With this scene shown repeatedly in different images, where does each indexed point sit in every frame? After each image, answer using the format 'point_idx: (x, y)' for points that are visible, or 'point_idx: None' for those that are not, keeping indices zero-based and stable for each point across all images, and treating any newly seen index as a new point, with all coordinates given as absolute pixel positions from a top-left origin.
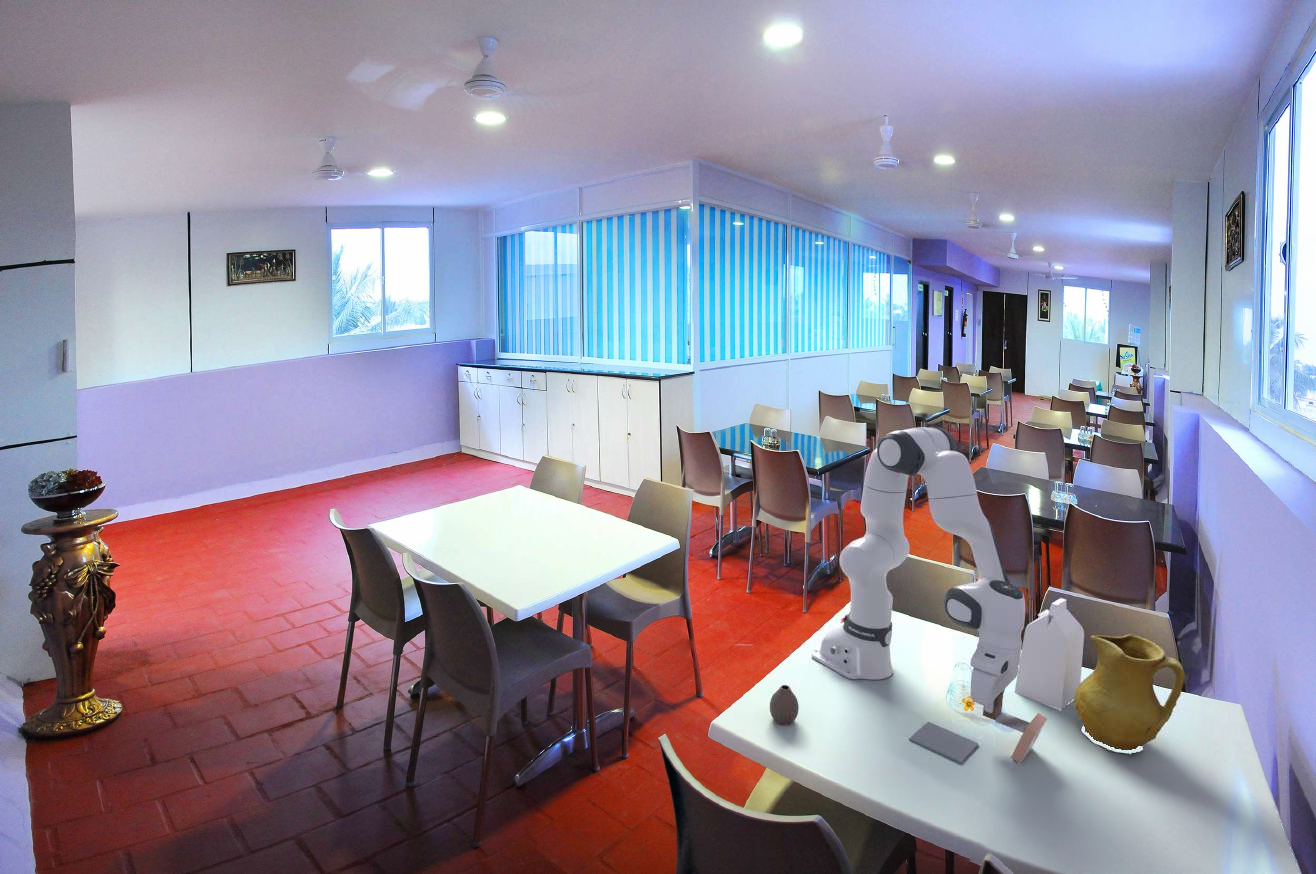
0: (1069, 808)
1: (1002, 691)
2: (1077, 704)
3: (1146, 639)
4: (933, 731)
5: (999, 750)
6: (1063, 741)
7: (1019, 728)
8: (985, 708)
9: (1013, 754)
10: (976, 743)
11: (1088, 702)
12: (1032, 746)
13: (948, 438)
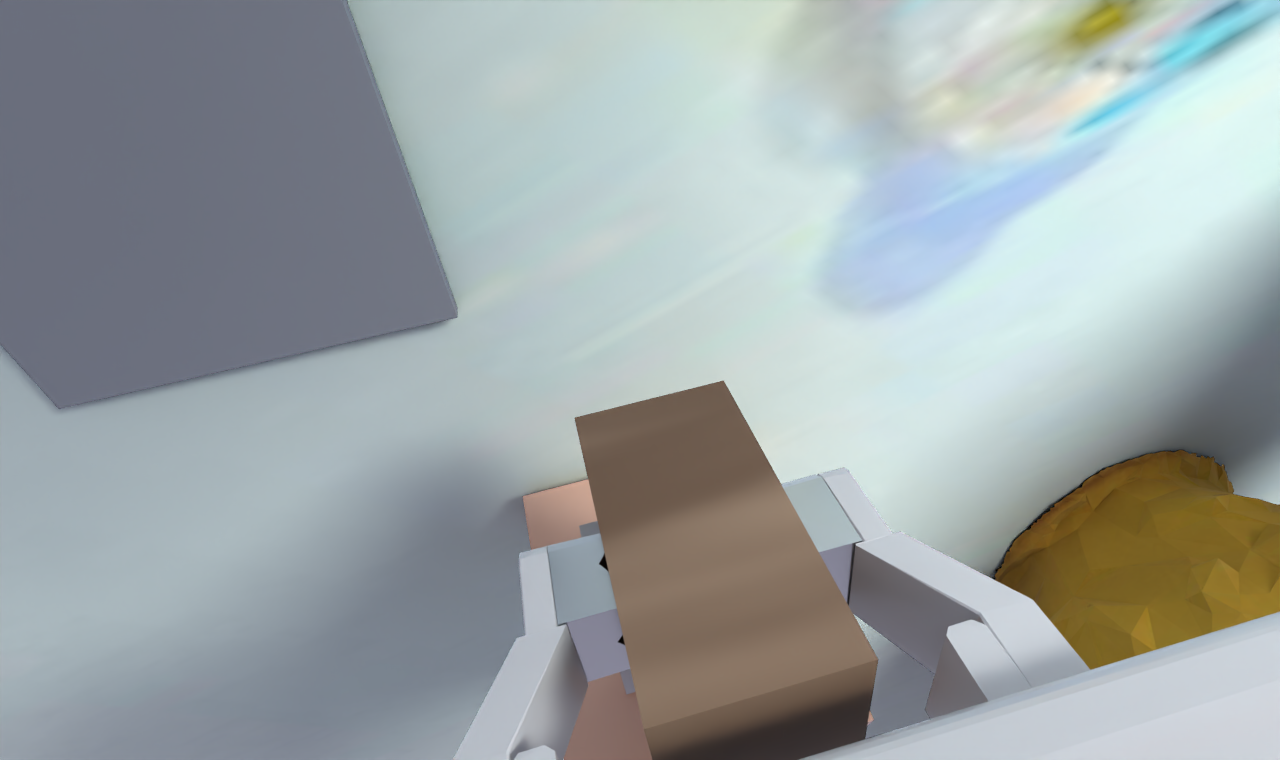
0: (422, 736)
1: (935, 663)
2: (1212, 631)
3: None
4: None
5: (550, 407)
6: (946, 488)
7: (621, 671)
8: (522, 582)
9: (528, 528)
10: (437, 312)
11: None
12: None
13: None
